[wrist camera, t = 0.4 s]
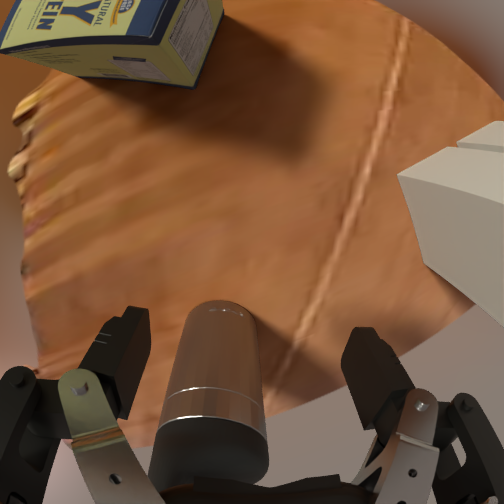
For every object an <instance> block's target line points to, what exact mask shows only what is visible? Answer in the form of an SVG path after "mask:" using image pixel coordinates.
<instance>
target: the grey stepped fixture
mask: <svg viewBox="0 0 504 504" xmlns="http://www.w3.org/2000/svg"><path fill="white" fill-rule="evenodd" d="M457 146H458V148H457V147H446V148H444V149H442V150H441V151H439V152H437V153H435V154H433V155H431V156H429V157H428V158H426V159H424V160H422V161H420V162H418V163H417V164H415V165H413V166H411V167H409V168H407V169H406V170H404V171H402V172H400V173H398V174H396V175H397V177H398V180H399V183H400V186H401V188H402V191H403V194H404V197H405V200H406V203H407V206H408V209H409V212H410V215H411V219H412V222H413V225H414V229H415V232H416V236H417V239H418V243H419V247H420V251H421V255H422V259H423V263H424V264H425V265H427V266H428V267H429V268H431V269H432V270H433V271H435V272H436V273H438V274H439V275H440V276H441V277H443V278H444V279H445V280H447V281H448V282H449V283H451V284H452V285H453V286H454V287H456V288H457V289H458V290H460V291H461V292H462V293H463V294H465V295H466V296H467V297H468V298H470V299H471V300H472V301H473V302H474V303H476V304H477V305H478V306H479V307H481V308H482V309H483V310H484V311H485V312H486V313H487V314H489V315H490V316H491V317H492V318H493V319H494V320H496V321H497V322H498V323H499V324H500V325H501V326H503V328H504V121H494V122H492V123H490V124H488V125H487V126H485V127H483V128H481V129H479V130H477V131H476V132H474V133H472V134H470V135H468V136H466V137H464V138H463V139H461V140H459V141H457Z"/></svg>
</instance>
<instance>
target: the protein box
mask: <svg viewBox="0 0 504 504" xmlns="http://www.w3.org/2000/svg"><path fill="white" fill-rule="evenodd" d="M223 16H224V9H223V3H222V0H16V1H15V3H14V5H13V7H12V9H11V11H10V13H9V15H8V17H7V19H6V21H5V23H4V25H3V27H2V30H1V32H0V53H1V54H5V55H9V56H14V57H17V58H21V59H24V60H27V61H30V62H34V63H37V64H40V65H43V66H47V67H50V68H53V69H56V70H59V71H61V72H64V73H67V74H70V75H73V76H76V77H79V78H99V79H115V80H127V81H137V82H146V83H153V84H161V85H167V86H174V87H180V88H186V89H192V90H194V89H196V87H197V84H198V81H199V78H200V75H201V72H202V70H203V67H204V64H205V61H206V59H207V56H208V53H209V51H210V48H211V45H212V43H213V40H214V38H215V35H216V33H217V30H218V28H219V25H220V23H221V20H222V18H223Z"/></svg>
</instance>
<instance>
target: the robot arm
mask: <svg viewBox="0 0 504 504" xmlns="http://www.w3.org/2000/svg"><path fill="white" fill-rule="evenodd" d="M150 350H151V333H150V320H149V311H148V309H146V308H140V307H134V306H128V307H127V309H126V310H125V312H124V314H123V315H122V317H116V316H114V317H113V318H111V319H110V320H109V321H107V322H106V323H105V324H104V325H103V327H102V328H101V330H100V332H99V334H98V335H97V337H96V338H95V341H93V343H92V345H91V346H90V348H89V350H88V351H87V353H86V355H85V356H84V358H83V360H82V362H81V363H80V365H79V367H78V368H77V369H73V370H70V371H68V372H66V373H65V374H64V375H62V377H61V378H60V379H59V380H47V379H37V378H36V376H35V374H34V373H33V371H32V370H31V369H29V368H27V367H24V366H17V367H13V368H11V369H9V370H8V371H6V372H5V374H4V375H3V377H2V378H1V380H0V504H42V502H43V498H44V494H45V490H46V486H47V483H48V479H49V475H50V472H51V468H52V465H53V462H54V459H55V456H56V453H57V449H58V447H59V444H60V441H61V439H72V440H73V442H71V446H72V450H73V453H74V456H75V458H76V461H77V464H78V466H79V469H80V471H81V473H82V476H83V478H84V481H85V483H86V485H87V487H88V489H89V492H90V493H91V496H92V498H93V500H94V502H95V504H426V503H427V500H428V497H429V493H430V490H431V486H432V489H433V492H434V495H435V498H436V502H437V504H504V449H503V447H502V445H501V443H500V441H499V439H498V437H497V435H496V433H495V431H494V430H493V428H492V426H491V424H490V422H489V420H488V419H487V417H486V415H485V413H484V412H483V410H482V408H481V407H480V405H479V403H478V402H477V400H476V399H475V398H474V397H473V396H471V395H469V394H467V393H459V394H457V395H456V396H455V398H454V399H453V400H452V401H451V403H450V402H439V401H437V399H436V398H435V397H434V395H433V394H432V393H430V392H429V391H427V390H424V389H420V388H415V386H414V384H413V383H412V381H411V379H410V378H409V376H408V374H407V372H406V371H405V369H404V367H403V366H402V364H400V361H399V359H398V357H396V354H395V352H394V351H393V349H392V347H391V346H390V345H388V344H387V343H386V342H385V341H384V340H383V339H380V338H379V336H378V334H377V333H376V331H375V330H374V328H372V327H355V328H354V329H353V330H352V332H351V335H350V337H349V340H348V342H347V345H346V347H345V350H344V352H343V354H342V358H341V369H342V372H343V374H344V377H345V380H346V382H347V385H348V388H349V390H350V393H351V396H352V398H353V401H354V404H355V406H356V409H357V412H358V415H359V418H360V420H361V423H362V426H363V428H364V430H370V429H375V430H376V432H377V435H376V436H375V438H374V440H373V442H372V445H371V447H370V449H369V451H368V454H367V456H366V458H365V461H364V463H363V464H362V467H361V469H360V471H359V472H358V474H357V475H356V477H355V478H354V479H353V481H352V482H351V483H345V482H341V481H340V476H339V474H336V475H329V476H321V477H311V478H305V479H301V480H299V481H295V482H291V483H288V484H284V485H280V486H277V487H271V488H269V487H263V486H258V485H253V484H255V483H256V482H258V481H259V480H261V479H262V478H263V477H264V475H265V474H266V472H267V470H268V467H269V454H268V445H267V434H266V423H265V415H264V404H263V393H262V382H261V371H260V360H259V349H258V338H257V328H256V323H255V321H254V319H253V317H252V316H251V315H250V313H249V312H248V311H246V310H245V309H244V308H243V307H241V306H239V305H237V304H235V303H232V302H228V301H210V302H205V303H203V304H201V305H199V306H197V307H196V308H194V309H193V310H192V311H191V312H190V314H189V315H188V317H187V319H186V322H185V325H184V329H183V332H182V336H181V339H180V342H179V346H178V350H177V353H176V357H175V361H174V364H173V368H172V372H171V376H170V380H169V383H168V387H167V391H166V395H165V399H164V403H163V407H162V412H161V416H160V420H159V425H158V429H157V433H156V437H155V442H154V447H153V452H152V458H151V462H150V467H149V471H148V476H147V475H146V473H145V471H144V470H143V468H142V466H141V465H140V463H139V461H138V460H137V458H136V456H135V454H134V452H133V451H132V449H131V447H130V445H129V443H128V441H127V439H126V438H125V436H124V434H123V432H122V430H121V429H120V427H119V425H118V423H117V418H121V419H125V420H127V419H128V416H129V413H130V410H131V407H132V404H133V401H134V398H135V395H136V392H137V389H138V386H139V383H140V380H141V377H142V374H143V371H144V369H145V366H146V363H147V360H148V357H149V355H150ZM457 437H459V440H460V442H461V444H462V446H463V448H464V451H465V453H466V462H465V464H464V465H463V466H462V467H461V465H460V463H459V460H458V458H457V456H456V453H455V451H454V449H453V446H452V444H451V443H452V442H453V441H454V440H455V439H456V438H457Z"/></svg>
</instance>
